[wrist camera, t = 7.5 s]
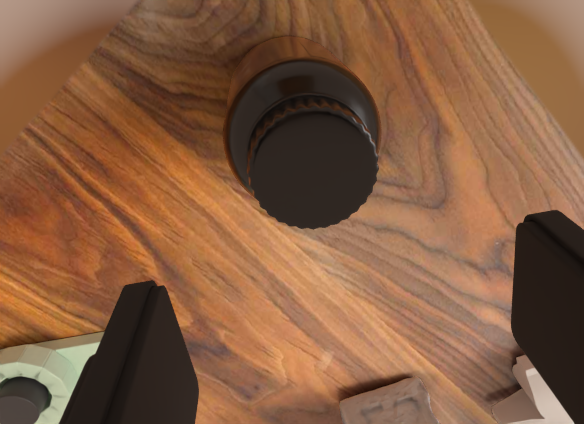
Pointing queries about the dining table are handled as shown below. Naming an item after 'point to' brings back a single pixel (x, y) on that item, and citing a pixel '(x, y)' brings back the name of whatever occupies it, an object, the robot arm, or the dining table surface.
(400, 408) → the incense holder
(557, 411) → the bunny figurine
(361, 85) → the supplement bottle
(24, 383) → the tare button
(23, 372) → the scale
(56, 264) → the dining table surface
